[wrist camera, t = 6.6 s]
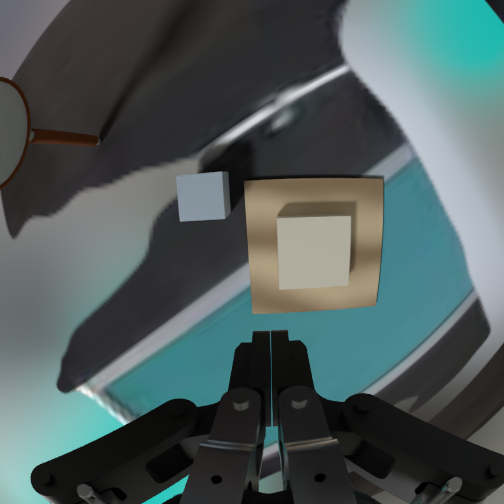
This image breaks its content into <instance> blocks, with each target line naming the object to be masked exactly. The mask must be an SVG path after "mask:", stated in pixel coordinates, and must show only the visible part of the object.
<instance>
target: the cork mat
mask: <svg viewBox="0 0 504 504" xmlns="http://www.w3.org/2000/svg"><path fill="white" fill-rule="evenodd" d="M244 191H245V206H246V221H247V236H248V251H249V266H250V281H251V296H252V310H253V314H265V313H288V312H306V311H321V310H334V309H346V308H357V307H367V306H376V299H377V291H378V282H379V272H380V261H381V248H382V229H383V179H368V178H299V179H271V180H252V181H244ZM318 214H348V215H350V216H351V242H350V266H349V282H348V286H336V287H321V288H304V289H284V290H279V279H278V249H277V224H276V216H289V215H318Z"/></svg>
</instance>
